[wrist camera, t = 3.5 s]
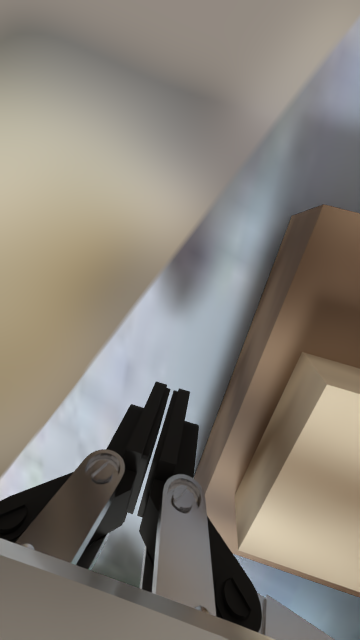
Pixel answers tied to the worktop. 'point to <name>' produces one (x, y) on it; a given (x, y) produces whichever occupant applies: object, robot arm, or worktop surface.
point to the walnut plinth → (285, 352)
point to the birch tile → (308, 477)
